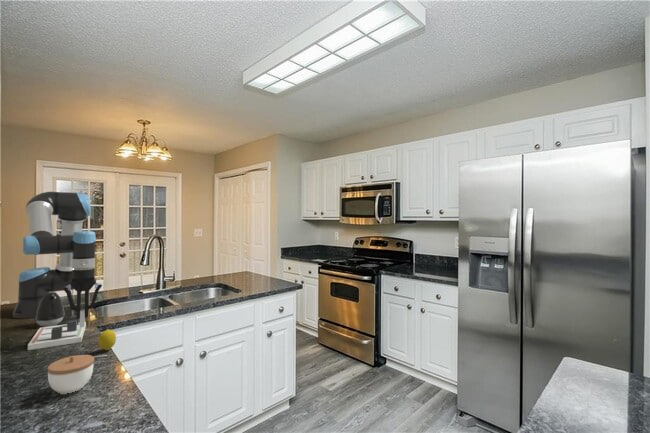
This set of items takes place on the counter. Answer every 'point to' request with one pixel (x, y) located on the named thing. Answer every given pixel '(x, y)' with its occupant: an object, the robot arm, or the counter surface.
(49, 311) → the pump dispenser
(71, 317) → the block
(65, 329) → the breaker panel
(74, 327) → the block
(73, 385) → the lidded jar
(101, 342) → the lemon
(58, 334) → the switch
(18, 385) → the counter surface
